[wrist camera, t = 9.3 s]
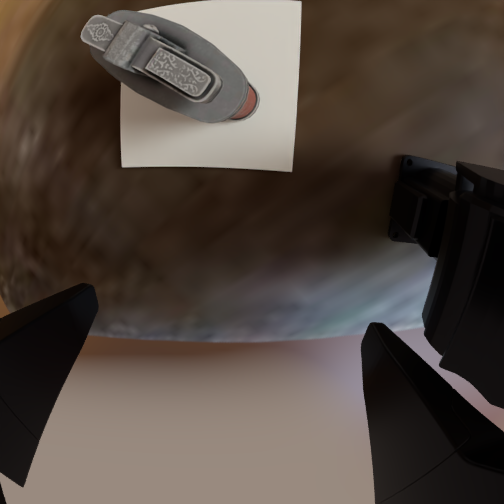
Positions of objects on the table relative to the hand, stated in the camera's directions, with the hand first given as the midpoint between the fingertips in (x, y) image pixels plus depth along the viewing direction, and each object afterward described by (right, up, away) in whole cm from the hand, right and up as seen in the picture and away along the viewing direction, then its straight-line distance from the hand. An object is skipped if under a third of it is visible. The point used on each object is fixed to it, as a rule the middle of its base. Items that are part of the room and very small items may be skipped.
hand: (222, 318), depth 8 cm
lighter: (-2, +13, +7) cm, 15 cm away
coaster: (-2, +13, +8) cm, 16 cm away
